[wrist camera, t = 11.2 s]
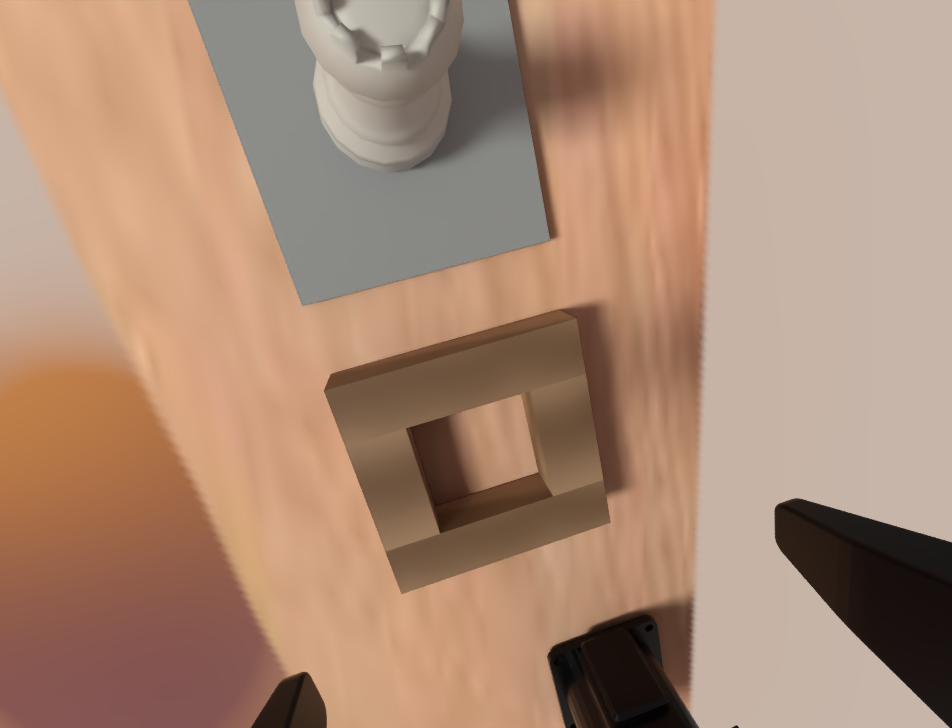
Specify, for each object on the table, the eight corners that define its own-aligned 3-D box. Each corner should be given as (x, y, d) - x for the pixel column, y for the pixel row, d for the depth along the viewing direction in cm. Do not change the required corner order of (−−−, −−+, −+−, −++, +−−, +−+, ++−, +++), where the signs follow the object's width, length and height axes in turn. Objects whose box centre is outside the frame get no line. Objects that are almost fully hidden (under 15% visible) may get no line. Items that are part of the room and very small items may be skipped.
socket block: (591, 498, 22) (610, 522, 21) (400, 561, 21) (401, 594, 19) (558, 309, 19) (576, 318, 17) (330, 374, 18) (324, 390, 16)
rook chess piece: (384, -5, 14) (379, -261, 7) (474, 114, 16) (551, 9, 8) (287, 93, 15) (181, -51, 7) (385, 201, 16) (382, 176, 9)
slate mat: (545, 240, 18) (550, 240, 18) (304, 304, 17) (302, 306, 17) (479, -133, 14) (482, -145, 14) (162, -80, 13) (153, -91, 13)
